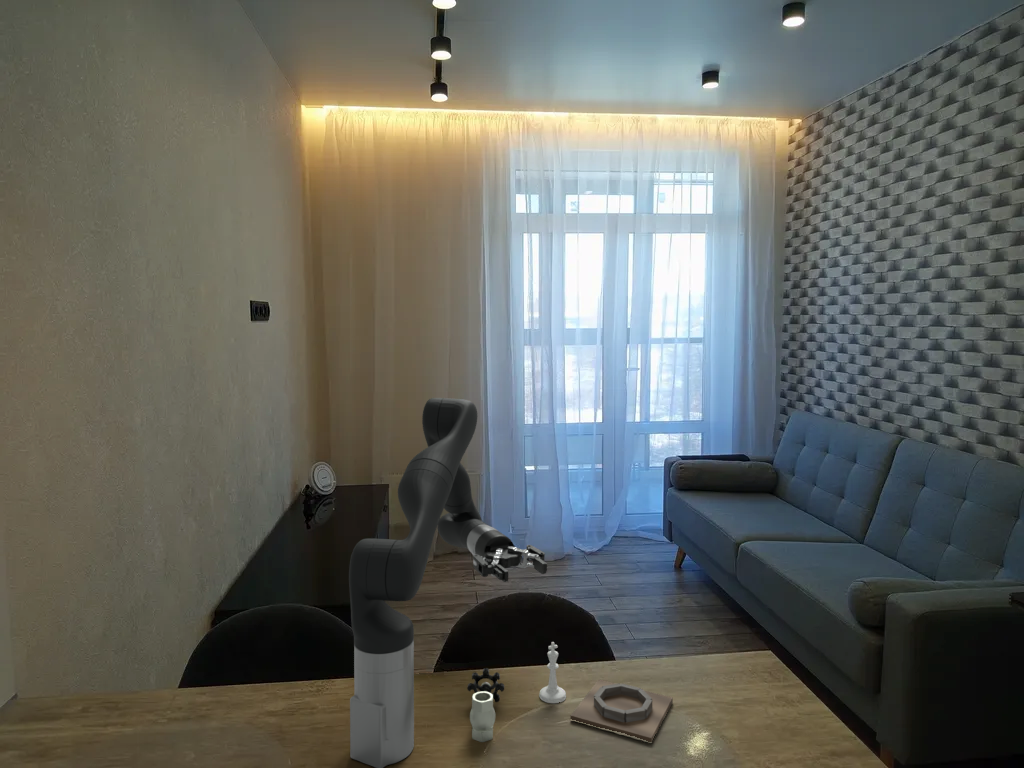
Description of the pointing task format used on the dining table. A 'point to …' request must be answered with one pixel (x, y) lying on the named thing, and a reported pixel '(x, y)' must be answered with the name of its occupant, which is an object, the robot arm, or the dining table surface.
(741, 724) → the dining table surface
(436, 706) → the dining table surface
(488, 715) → the valve
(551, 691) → the chess piece
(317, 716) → the dining table surface
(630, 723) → the board
